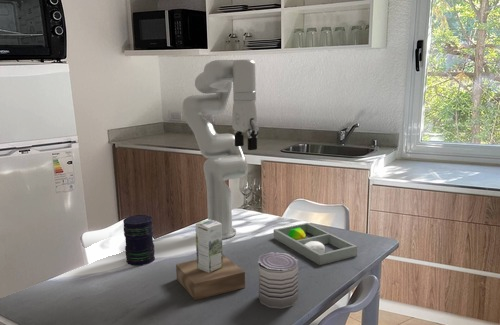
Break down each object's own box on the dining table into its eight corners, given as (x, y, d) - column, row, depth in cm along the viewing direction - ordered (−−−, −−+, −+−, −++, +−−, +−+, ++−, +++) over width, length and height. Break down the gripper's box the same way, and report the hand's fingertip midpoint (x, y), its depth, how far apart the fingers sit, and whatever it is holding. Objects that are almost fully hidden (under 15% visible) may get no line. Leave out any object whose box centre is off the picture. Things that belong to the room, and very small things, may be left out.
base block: (176, 279, 145) (176, 264, 144) (223, 268, 152) (222, 254, 151) (195, 300, 131) (194, 283, 130) (245, 287, 138) (244, 271, 137)
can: (278, 286, 139) (278, 248, 136) (306, 299, 130) (306, 259, 128) (250, 298, 131) (249, 259, 129) (278, 313, 123) (277, 271, 121)
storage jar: (122, 266, 156) (119, 223, 153) (130, 254, 165) (127, 215, 162) (151, 265, 155) (148, 223, 152) (158, 254, 165) (155, 214, 162)
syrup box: (210, 262, 144) (208, 218, 141) (223, 267, 140) (222, 222, 138) (196, 268, 140) (194, 223, 137) (209, 273, 136) (208, 227, 133)
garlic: (307, 257, 160) (307, 247, 159) (298, 251, 166) (298, 241, 165) (327, 254, 163) (327, 244, 162) (318, 247, 169) (318, 237, 168)
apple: (289, 222, 174) (308, 227, 168) (297, 230, 178) (316, 235, 172) (281, 239, 172) (300, 244, 166) (290, 246, 176) (308, 252, 170)
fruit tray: (273, 238, 179) (273, 229, 178) (307, 231, 186) (307, 222, 186) (319, 265, 153) (319, 255, 152) (357, 255, 160) (357, 246, 160)
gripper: (223, 97, 159) (225, 145, 163) (246, 98, 144) (247, 152, 148) (242, 96, 163) (243, 143, 166) (267, 97, 148) (267, 150, 151)
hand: (245, 147), depth 157 cm, fingers open, 9 cm apart
